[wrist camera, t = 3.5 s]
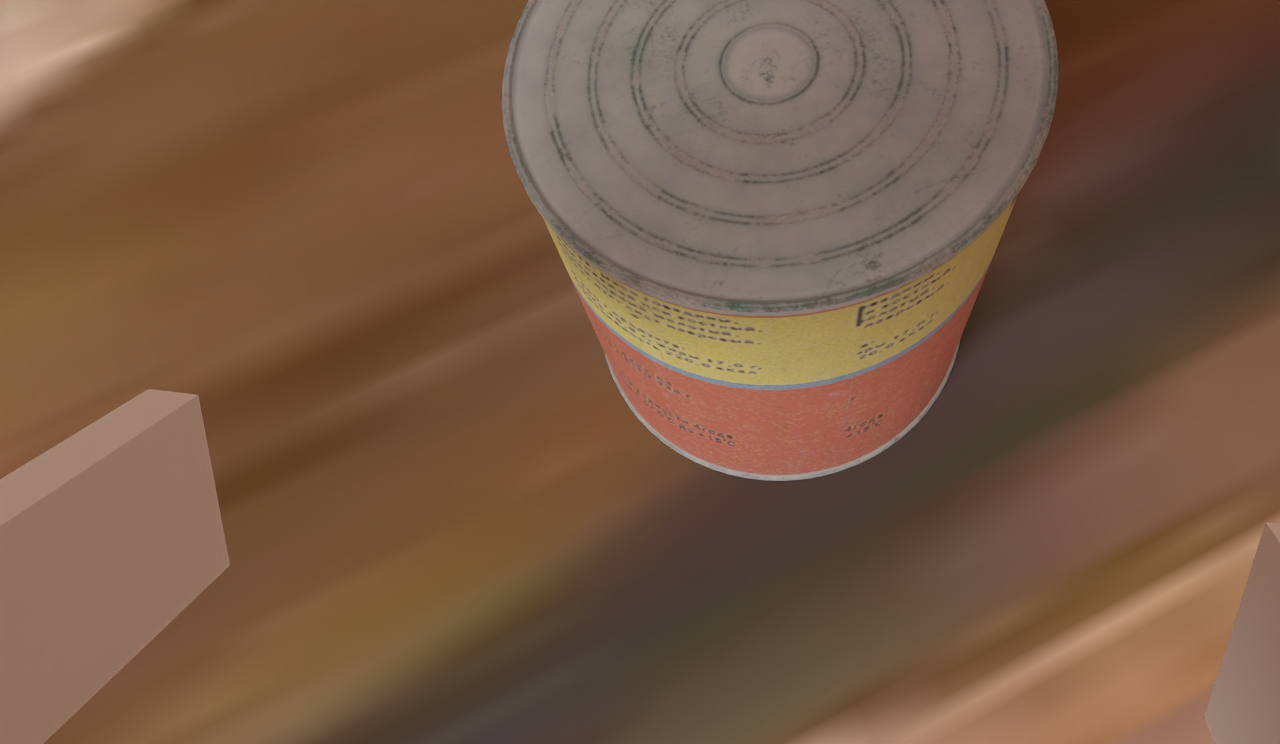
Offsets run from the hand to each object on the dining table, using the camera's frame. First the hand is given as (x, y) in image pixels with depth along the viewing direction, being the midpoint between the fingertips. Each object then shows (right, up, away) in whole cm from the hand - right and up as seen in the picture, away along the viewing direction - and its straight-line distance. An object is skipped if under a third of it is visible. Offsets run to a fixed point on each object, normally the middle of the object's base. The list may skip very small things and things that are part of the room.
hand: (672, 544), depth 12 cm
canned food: (+4, +4, +19) cm, 20 cm away
